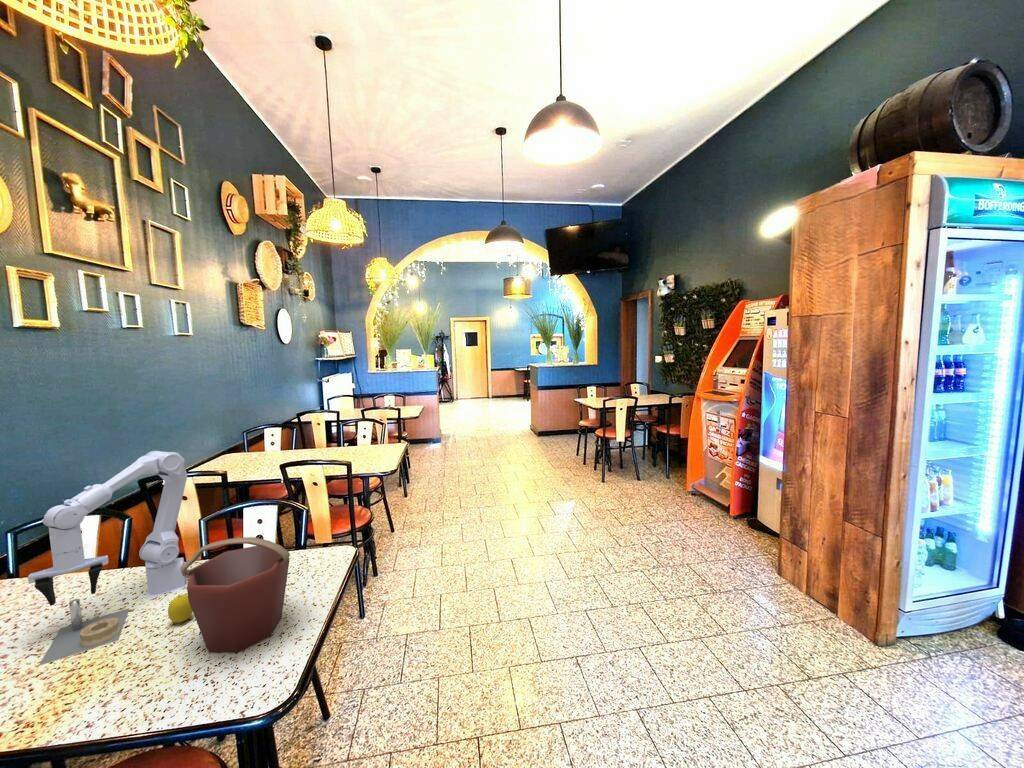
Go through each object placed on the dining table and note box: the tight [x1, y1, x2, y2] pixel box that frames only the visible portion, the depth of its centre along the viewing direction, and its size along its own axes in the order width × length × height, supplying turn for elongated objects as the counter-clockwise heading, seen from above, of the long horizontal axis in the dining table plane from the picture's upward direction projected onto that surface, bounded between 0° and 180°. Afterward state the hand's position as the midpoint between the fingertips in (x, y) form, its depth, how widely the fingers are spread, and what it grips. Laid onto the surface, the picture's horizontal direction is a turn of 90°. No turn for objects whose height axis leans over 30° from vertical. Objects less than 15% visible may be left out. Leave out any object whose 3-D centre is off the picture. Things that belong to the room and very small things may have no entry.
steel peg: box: [68, 598, 84, 631], centre depth 111 cm, size 2×2×8 cm
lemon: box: [167, 594, 193, 624], centre depth 114 cm, size 6×6×8 cm
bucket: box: [181, 536, 291, 654], centre depth 109 cm, size 24×22×25 cm
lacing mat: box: [38, 607, 130, 666], centre depth 109 cm, size 14×17×1 cm
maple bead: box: [80, 618, 120, 647], centre depth 108 cm, size 7×7×3 cm
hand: (73, 598), depth 111 cm, fingers open, 7 cm apart
